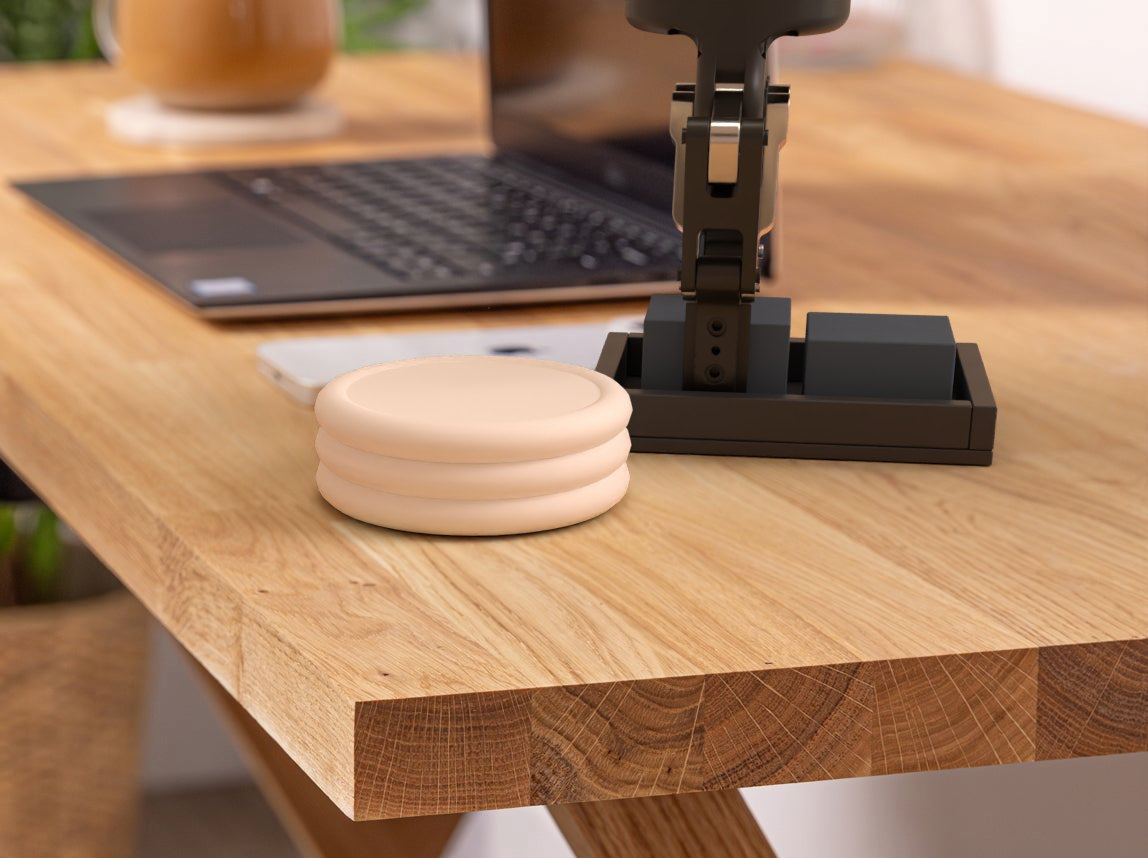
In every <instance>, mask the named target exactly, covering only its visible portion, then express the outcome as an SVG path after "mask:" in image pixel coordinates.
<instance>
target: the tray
mask: <svg viewBox="0 0 1148 858" xmlns="http://www.w3.org/2000/svg"><path fill="white" fill-rule="evenodd" d="M804 348H805V337H797V336H795V337H794V336H790V345H789V360H788V376H787V391H786V394H761V393H732V392H703V391H674V390H646V389H641V379H642V354H643V332H636V331H635V332H634V331H633V332H627V331H625V332H624V331H609V332H608V333H607V336H606V338H605V341H604V344H603V347H602V349H601V351H600V355H599V357H598V360H597V362H596V366H595V368H594V371H597V372H599V373H601V374H604V375H606V376H608V377H610V378H612V379H613V380H614V381H616V382H617V383H618V384H619V385H620V386H621V387H622V388H624V389H625V390H626V392H627V393H628V394H629V397H630V401H631V405H632V413H631V416H630V419H629V422H628V425H627V426H626V428H627V430H628V433H629V437H630V441H631V448H630V451H629V452H638V453H639V452H641V453H643V452H644V453H669V454H691V455H692V454H693V455H694V454H695V455H717V456H719V455H720V456H741V457H742V456H745V457H771V458H795V459H796V458H797V459H799V458H800V459H821V460H823V459H825V460H826V459H827V460H844V461H845V460H847V461H848V460H850V461H872V462H874V461H876V462H877V461H878V462H899V463H924V464H925V463H926V464H927V463H929V464H951V465H952V464H953V465H976V466H992V465H993V456H994V451H993V450H994V449H995V437H996V428H997V427H996V426H997V419H998V418H997V416H998V406H997V403H996V398H995V396H994V393H993V390H992V386H991V383H990V380H989V378H988V374H987V371H986V367H985V363H984V361H983V357H982V355H981V351H980V349H979V345H978V343H977V342H956V357H955V368H954V379H953V389H952V400H934V399H905V398H876V397H847V396H819V395H802V378H803V363H804Z"/></svg>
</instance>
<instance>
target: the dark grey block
mask: <svg viewBox="0 0 1148 858" xmlns="http://www.w3.org/2000/svg"><path fill="white" fill-rule="evenodd" d="M685 314H686V301H683V293H682V294H678V293H677V294H676V293H652V294H651V297H650V299H649V303H648V307H647V309H646V313H645V317H644V319H643V328H642V329H643V330H642V331H643V332H642V333H643V354H642V379H641V389H646V390H674V391H682V378H683V357H684V335H685ZM791 327H792V298H791V297H781V296H780V297H778V296H776V297H775V296H755V303H752V308H751V325H750V342H749V360H748V377H747V393H761V394H786V391H787V376H788V360H789V345H790V337H791V330H792V329H791Z"/></svg>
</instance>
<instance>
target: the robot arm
mask: <svg viewBox="0 0 1148 858" xmlns="http://www.w3.org/2000/svg"><path fill="white" fill-rule="evenodd" d="M851 4H852V0H623V14H624V17H625V20H626V21H627V22H628V24H629V25H630V26H631V27H632V28H634V29H637V30H639V31H641V32H647V33H652V34H659V35H665V36H666V35H667V36H676V35H677V36H679V35H681V36H686V37H688V38H689V39H691V40H692V41H693V43H694V44H695V46H696V50H697V57H696V71H695V72H696V74H695V82H675V89H674V90H673V91H671V97H670V98H671V99H670V115H669V134H670V141H671V143H672V144H673V146H674V147H675V155H674V156H675V157H674V175H673V189H672V190H673V193H672V209H671V216H672V221H673V224H674V227H675V228H676V230H678V231H680V232H681V233H682V239H681V241H682V242H681V265H677V270H676V282H678V291H680V293H682V295H683V301H686V314H685V335H684V357H683V378H682V391H703V392H732V393H747V377H748V360H749V342H750V325H751V308H752V303H755V297H756V293H761V280H762V279H761V272H762V268H761V267H759V261H760V260H759V259H762V260H763V259H764V246H765V245H764V243H763V244H762V243H761V238H762V236H764V235H766V234H767V233H769V232H770V231H771V230H772V229H773V227H774V226H775V221H776V207H777V205H776V204H777V195H778V194H777V193H778V179H779V178H778V177H779V174H778V173H779V161H780V153H781V150H782V149H783V148H784V147H785V146H786V144H787V141H788V135H789V118H790V103H791V101H790V100H791V84H789V83H788V84H787V83H786V84H784V83H783V84H782V83H770V82H771V75H770V74H767V73H768V56H769V48H770V46H771V45H772V43H773V42H775V41H776V40H778V39H779V38H783V37H794V38H795V37H796V38H797V37H798V38H799V37H808V36H817V35H823V34H829V33H832V32H835V31H837V30H839V29H841V28H842V27H843V26H844V25H846V23H847V21H848V20H849V17H850V14H851ZM760 243H761V244H760Z"/></svg>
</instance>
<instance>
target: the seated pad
mask: <svg viewBox="0 0 1148 858" xmlns="http://www.w3.org/2000/svg"><path fill="white" fill-rule="evenodd" d="M805 318H806V319H805V334H804V338H805V348H804V363H803V378H802V395H819V396H847V397H876V398H905V399H934V400H952V389H953V379H954V368H955V357H956V343H957V342H956V340H955V335H954V332H953V328H952V324H951V321H950V317H949V316H948V315H937V314H936V315H933V314H932V315H931V314H928V315H927V314H903V313H901V314H900V313H898V314H897V313H865V312H864V313H863V312H830V311H808V312H807V313H806V317H805Z"/></svg>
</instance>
